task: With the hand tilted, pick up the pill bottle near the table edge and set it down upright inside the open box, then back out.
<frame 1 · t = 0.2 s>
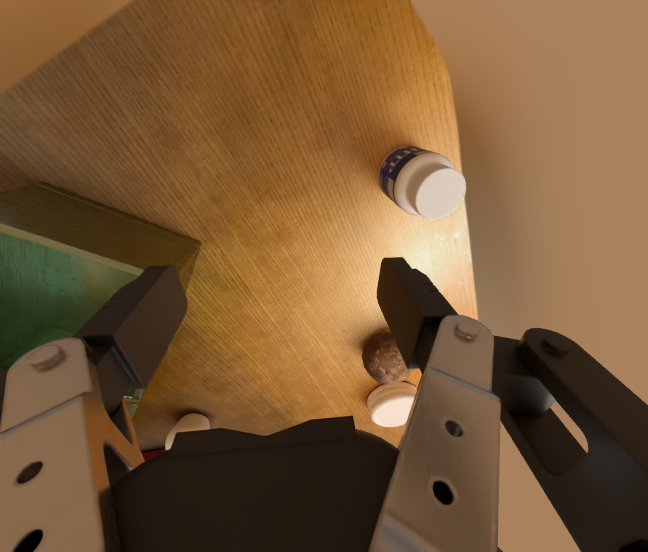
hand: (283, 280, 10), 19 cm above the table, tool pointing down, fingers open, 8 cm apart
mushroom: (382, 342, 41), on the table
pill bottle: (400, 172, 27), on the table
white round flat piece: (391, 395, 50), on the table
open box: (117, 285, 31), on the table
plain white apple: (196, 417, 47), on the table
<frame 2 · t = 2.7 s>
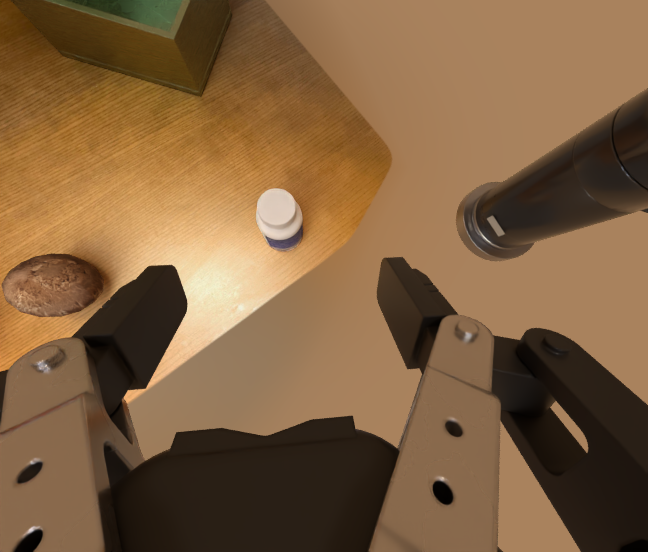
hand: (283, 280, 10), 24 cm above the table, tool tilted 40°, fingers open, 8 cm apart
mushroom: (81, 287, 32), on the table
pill bottle: (283, 233, 35), on the table
open box: (151, 34, 37), on the table
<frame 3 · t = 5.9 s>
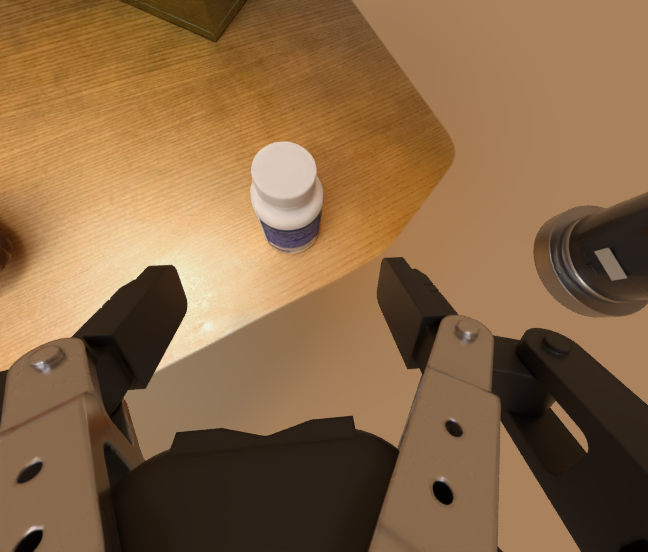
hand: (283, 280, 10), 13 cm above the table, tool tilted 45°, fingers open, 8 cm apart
pill bottle: (291, 228, 24), on the table
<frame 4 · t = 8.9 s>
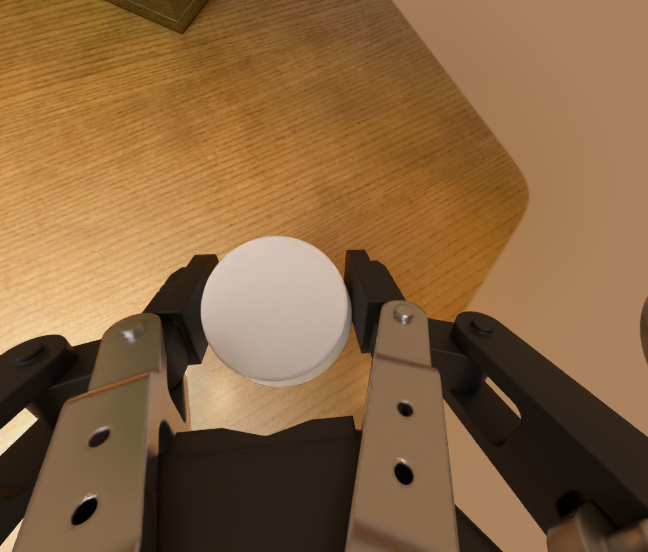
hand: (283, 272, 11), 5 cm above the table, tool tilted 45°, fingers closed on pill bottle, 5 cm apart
pill bottle: (291, 320, 16), on the table, touching gripper
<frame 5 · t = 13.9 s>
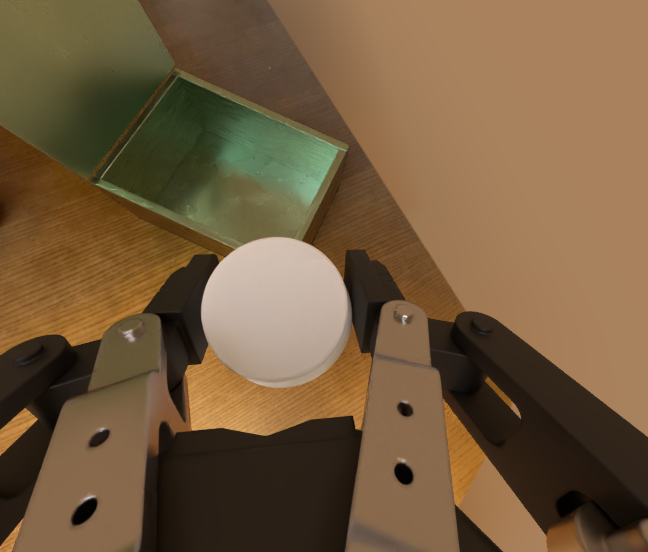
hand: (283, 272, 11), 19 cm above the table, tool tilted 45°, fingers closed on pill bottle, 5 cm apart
pill bottle: (291, 321, 16), point 14 cm above the table, touching gripper
open box: (245, 202, 32), on the table
when the fingers open (6 cm above the table, at t = 19.1 s): pill bottle stays where it is, resting on open box.
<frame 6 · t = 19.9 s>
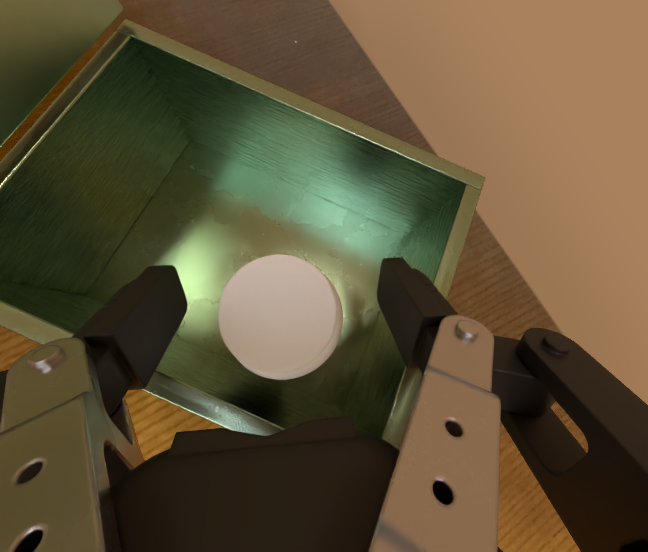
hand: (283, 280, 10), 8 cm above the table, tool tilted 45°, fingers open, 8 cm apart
pill bottle: (290, 322, 17), point 1 cm above the table, touching open box
open box: (261, 266, 18), on the table
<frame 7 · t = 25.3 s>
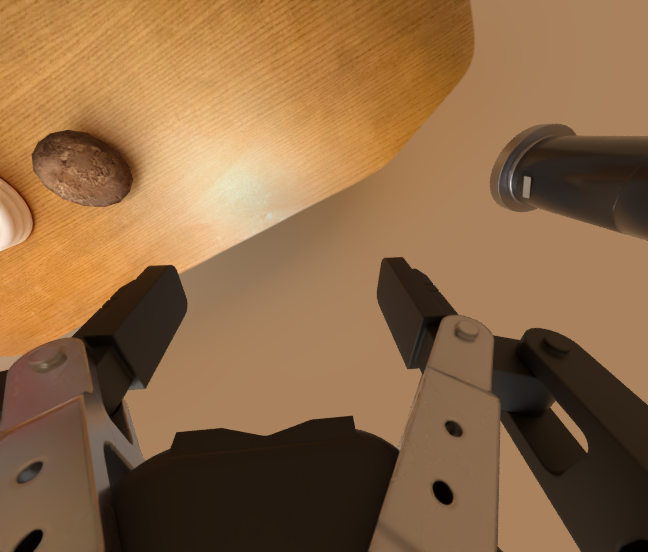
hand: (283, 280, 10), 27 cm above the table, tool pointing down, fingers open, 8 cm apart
mushroom: (104, 167, 30), on the table
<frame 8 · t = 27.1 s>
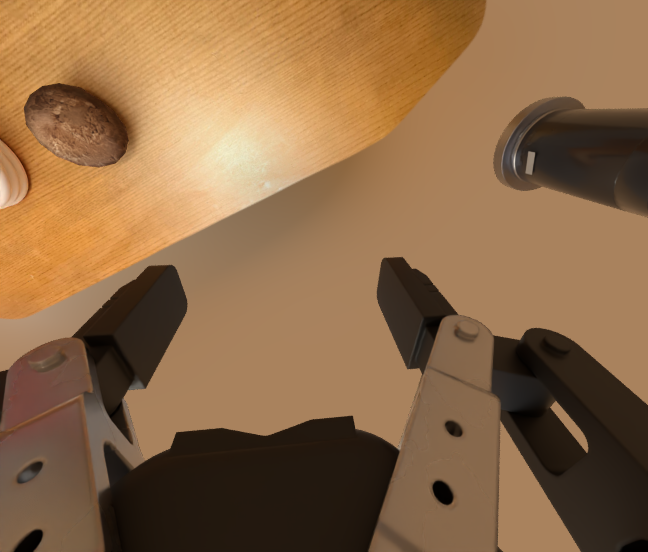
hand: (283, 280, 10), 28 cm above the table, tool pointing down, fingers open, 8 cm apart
mushroom: (99, 126, 30), on the table
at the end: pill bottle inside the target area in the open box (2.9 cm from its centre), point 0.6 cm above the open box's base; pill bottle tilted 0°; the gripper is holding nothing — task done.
